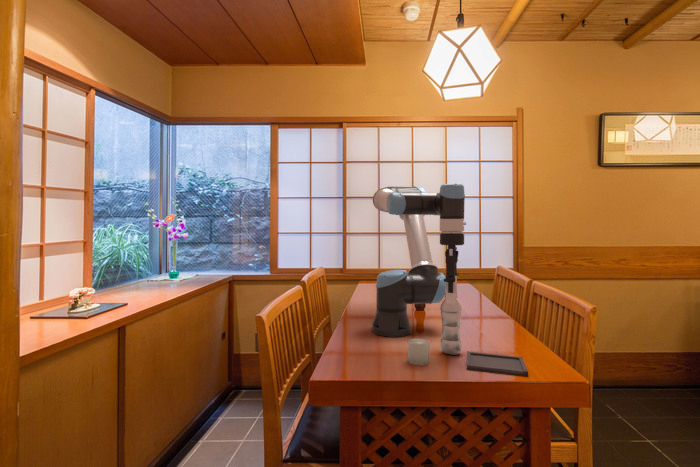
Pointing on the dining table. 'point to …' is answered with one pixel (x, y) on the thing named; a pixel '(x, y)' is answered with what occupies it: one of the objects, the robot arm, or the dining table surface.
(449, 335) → the plastic bottle
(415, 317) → the dining table surface
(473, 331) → the dining table surface
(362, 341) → the dining table surface
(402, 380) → the dining table surface
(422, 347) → the white rounded cylinder
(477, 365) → the tray
